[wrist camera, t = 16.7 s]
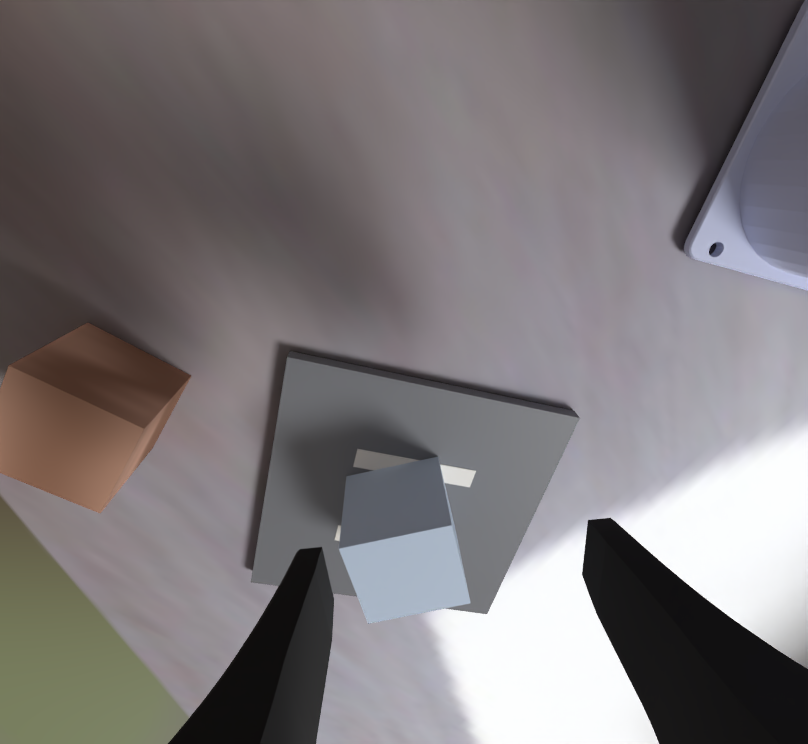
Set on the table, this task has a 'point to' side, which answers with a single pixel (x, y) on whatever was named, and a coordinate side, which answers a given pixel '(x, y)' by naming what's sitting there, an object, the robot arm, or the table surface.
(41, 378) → the terracotta block
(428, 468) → the pale blue cube
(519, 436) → the board
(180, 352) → the table surface
